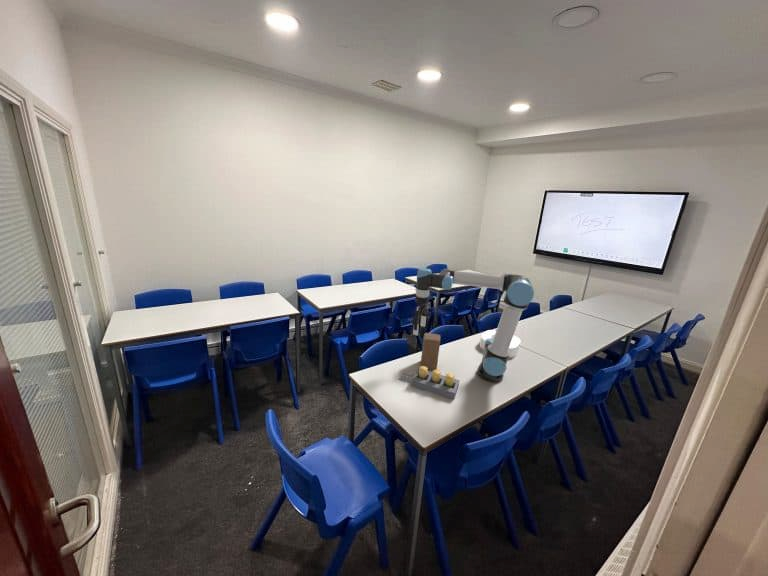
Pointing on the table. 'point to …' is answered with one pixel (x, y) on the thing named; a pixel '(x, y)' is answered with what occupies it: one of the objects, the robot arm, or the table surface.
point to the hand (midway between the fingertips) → (419, 330)
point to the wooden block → (430, 351)
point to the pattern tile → (406, 377)
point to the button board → (435, 385)
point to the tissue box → (512, 348)
